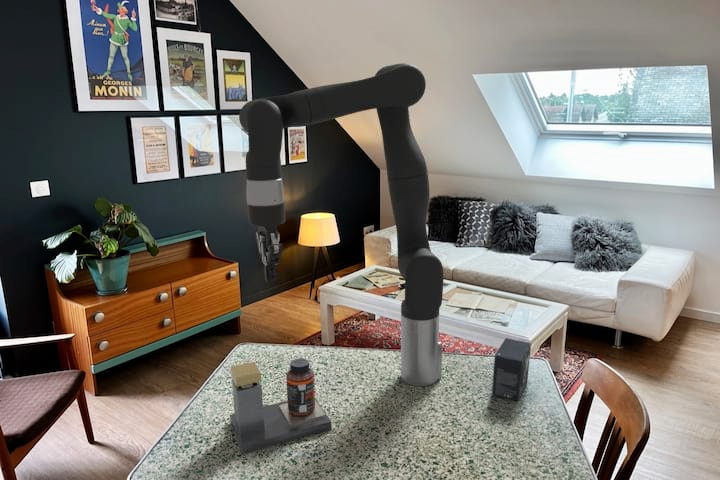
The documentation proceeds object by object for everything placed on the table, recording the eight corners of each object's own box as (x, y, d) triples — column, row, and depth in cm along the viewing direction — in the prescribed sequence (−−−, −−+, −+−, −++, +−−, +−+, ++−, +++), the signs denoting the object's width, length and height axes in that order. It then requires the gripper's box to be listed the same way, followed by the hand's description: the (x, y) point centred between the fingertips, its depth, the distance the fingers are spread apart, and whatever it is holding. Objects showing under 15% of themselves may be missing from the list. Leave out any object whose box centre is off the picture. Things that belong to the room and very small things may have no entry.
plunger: (258, 412, 118) (254, 361, 115) (264, 424, 114) (260, 372, 111) (235, 418, 116) (230, 366, 113) (240, 430, 112) (235, 377, 109)
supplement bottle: (310, 418, 116) (308, 370, 113) (284, 415, 118) (281, 367, 115) (318, 403, 122) (316, 357, 119) (293, 401, 123) (290, 354, 120)
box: (519, 402, 126) (521, 360, 123) (490, 395, 129) (492, 354, 126) (529, 381, 135) (531, 342, 132) (502, 375, 138) (504, 337, 135)
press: (312, 402, 127) (310, 355, 124) (331, 429, 117) (329, 378, 114) (230, 423, 120) (226, 373, 117) (242, 454, 109) (238, 400, 106)
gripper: (293, 204, 107) (297, 287, 112) (274, 194, 119) (279, 270, 124) (255, 208, 105) (261, 293, 109) (240, 197, 116) (246, 274, 121)
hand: (270, 281), depth 116 cm, fingers closed
